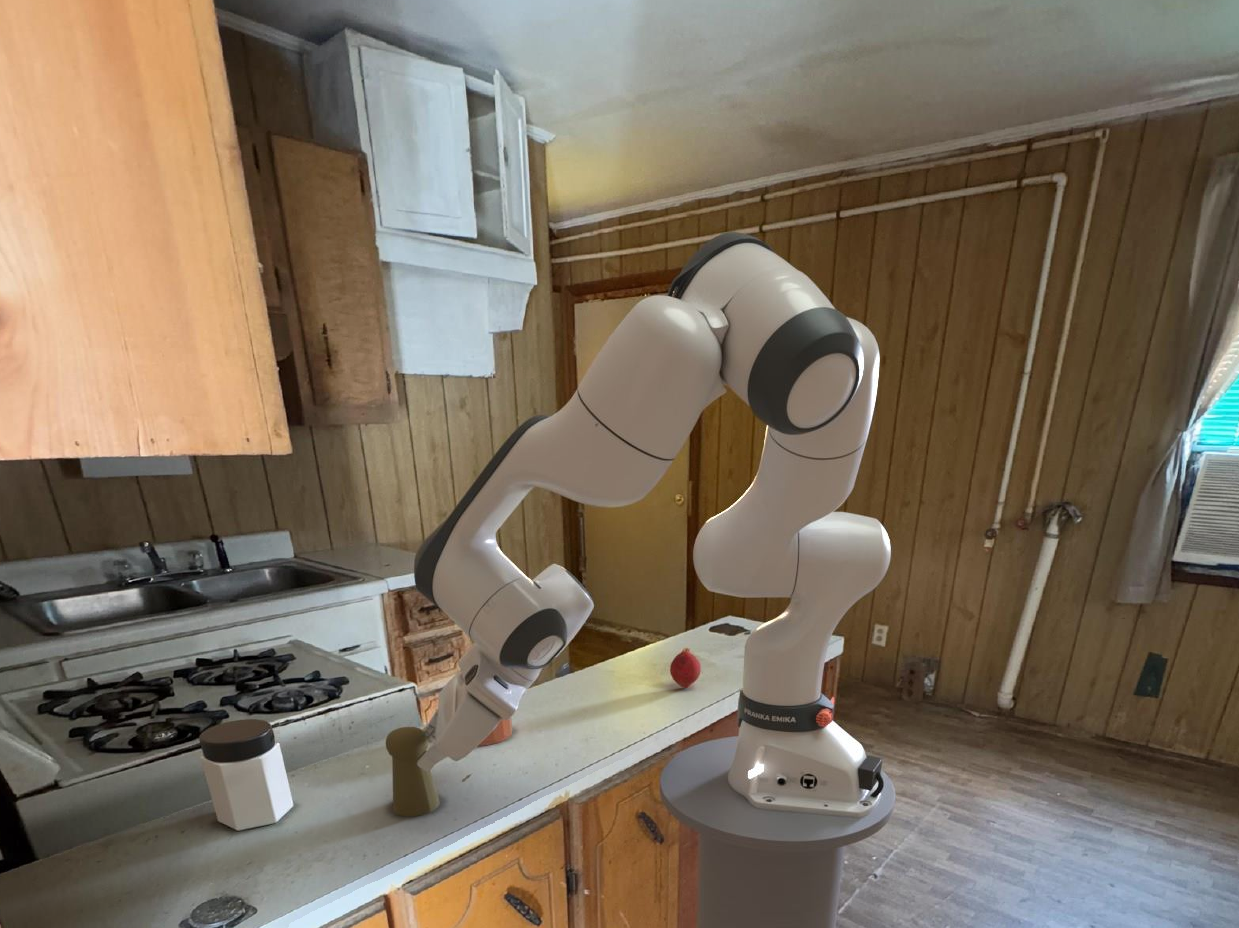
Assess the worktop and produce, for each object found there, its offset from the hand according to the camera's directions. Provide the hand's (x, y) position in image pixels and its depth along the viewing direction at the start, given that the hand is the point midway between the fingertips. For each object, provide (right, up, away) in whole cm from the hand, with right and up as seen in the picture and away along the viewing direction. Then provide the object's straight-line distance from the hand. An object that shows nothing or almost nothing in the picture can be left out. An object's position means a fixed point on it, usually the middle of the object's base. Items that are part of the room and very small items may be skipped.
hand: (423, 751), depth 96 cm
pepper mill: (-2, -7, +3) cm, 8 cm away
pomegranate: (+36, +12, +46) cm, 60 cm away
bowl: (+2, +3, +26) cm, 26 cm away
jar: (-22, -8, +1) cm, 24 cm away
